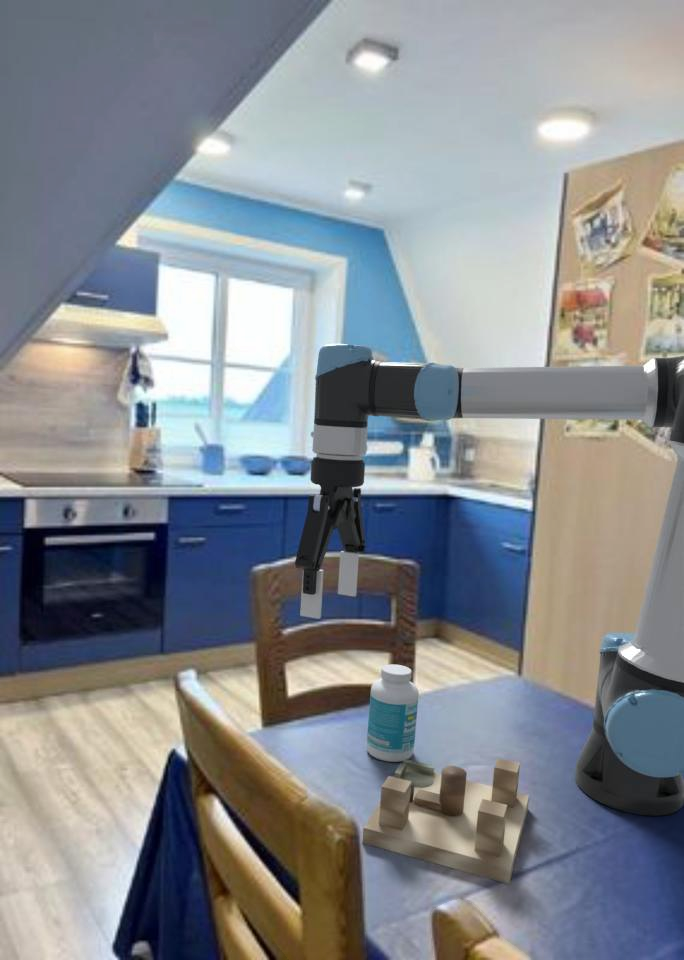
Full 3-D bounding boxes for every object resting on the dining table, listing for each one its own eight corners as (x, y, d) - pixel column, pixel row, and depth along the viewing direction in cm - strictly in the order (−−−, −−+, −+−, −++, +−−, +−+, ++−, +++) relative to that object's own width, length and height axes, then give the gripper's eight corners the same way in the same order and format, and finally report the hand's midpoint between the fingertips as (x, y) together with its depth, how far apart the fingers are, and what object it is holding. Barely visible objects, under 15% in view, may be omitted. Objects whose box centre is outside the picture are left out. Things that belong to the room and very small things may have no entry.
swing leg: (412, 805, 99) (415, 768, 99) (419, 794, 102) (422, 758, 102) (460, 817, 97) (463, 780, 97) (465, 805, 100) (468, 769, 100)
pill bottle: (410, 767, 115) (417, 681, 113) (362, 759, 116) (368, 674, 115) (415, 746, 122) (422, 664, 120) (370, 738, 123) (376, 658, 122)
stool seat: (527, 809, 105) (532, 760, 104) (509, 883, 88) (514, 826, 87) (402, 778, 111) (405, 732, 110) (362, 842, 94) (366, 789, 93)
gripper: (345, 451, 119) (337, 583, 122) (274, 458, 96) (266, 622, 98) (391, 454, 117) (382, 590, 119) (329, 464, 93) (319, 632, 96)
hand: (329, 605), depth 109 cm, fingers open, 13 cm apart
